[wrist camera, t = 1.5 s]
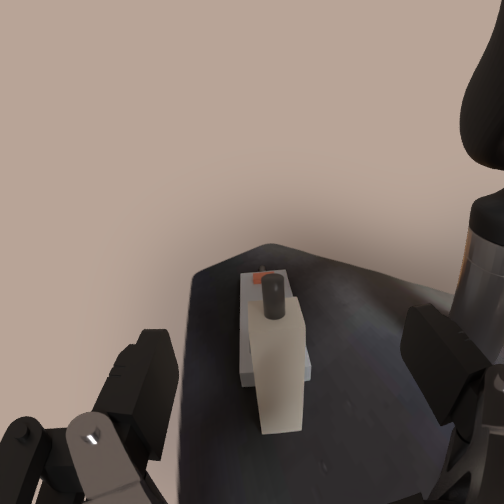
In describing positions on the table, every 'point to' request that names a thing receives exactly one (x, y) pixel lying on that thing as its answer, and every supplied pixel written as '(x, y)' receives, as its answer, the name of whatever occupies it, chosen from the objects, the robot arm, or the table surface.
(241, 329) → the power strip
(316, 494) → the table surface
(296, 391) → the plug
